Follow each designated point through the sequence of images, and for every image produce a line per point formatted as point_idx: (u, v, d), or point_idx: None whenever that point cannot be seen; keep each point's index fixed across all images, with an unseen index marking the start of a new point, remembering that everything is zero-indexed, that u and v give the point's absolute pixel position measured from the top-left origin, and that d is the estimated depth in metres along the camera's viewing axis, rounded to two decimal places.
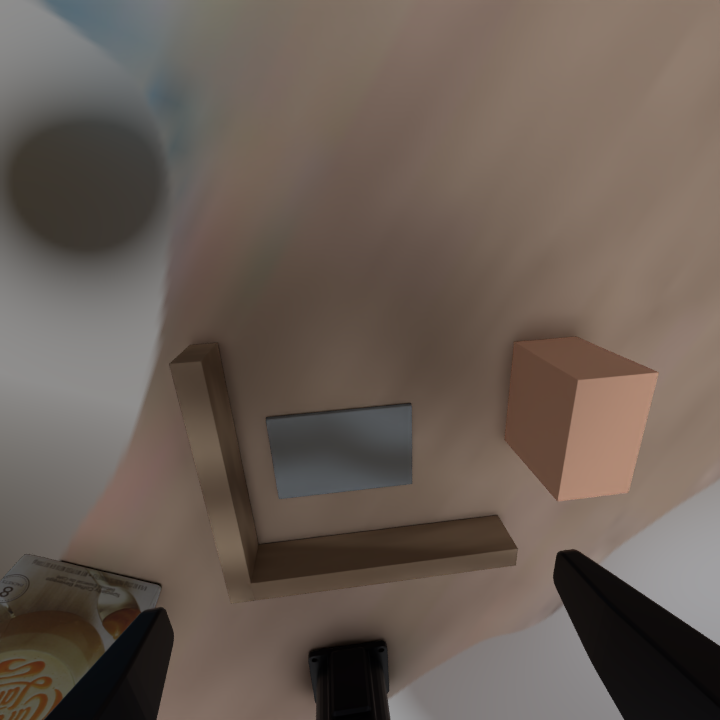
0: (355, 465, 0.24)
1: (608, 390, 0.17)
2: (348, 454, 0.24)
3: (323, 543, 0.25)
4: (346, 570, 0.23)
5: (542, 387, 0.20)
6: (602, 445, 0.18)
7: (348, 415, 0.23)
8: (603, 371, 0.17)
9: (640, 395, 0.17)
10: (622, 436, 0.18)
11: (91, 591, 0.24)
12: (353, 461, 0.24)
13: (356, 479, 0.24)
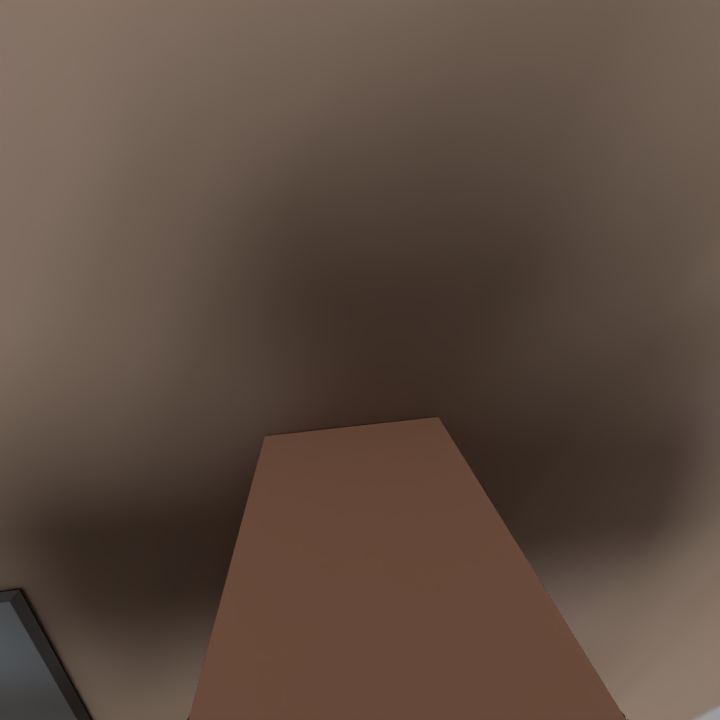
0: None
1: None
2: None
3: None
4: None
5: None
6: None
7: None
8: None
9: None
10: None
11: None
12: None
13: None
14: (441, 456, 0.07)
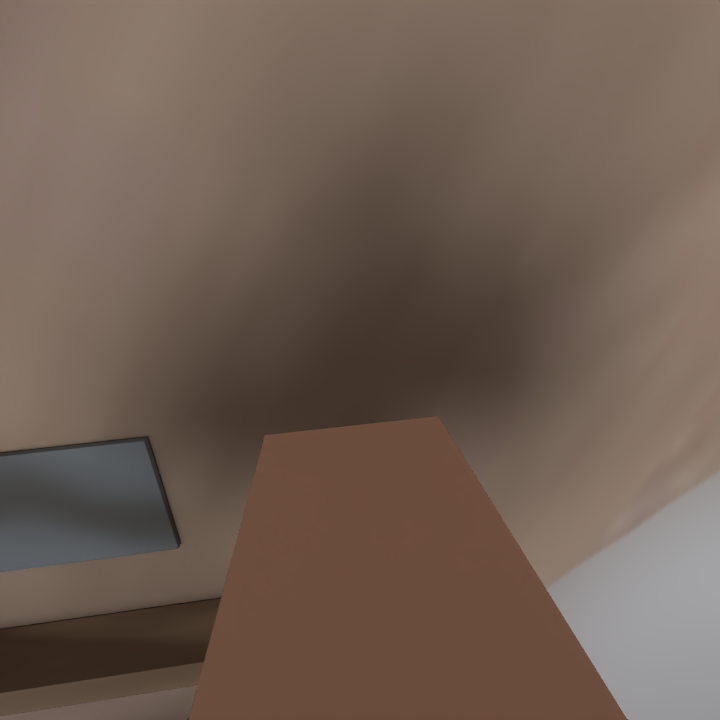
0: (82, 526, 0.16)
1: None
2: (65, 511, 0.16)
3: (62, 631, 0.18)
4: (63, 682, 0.16)
5: None
6: None
7: (46, 457, 0.15)
8: None
9: None
10: None
11: None
12: (76, 521, 0.16)
13: (89, 545, 0.17)
14: (441, 455, 0.07)
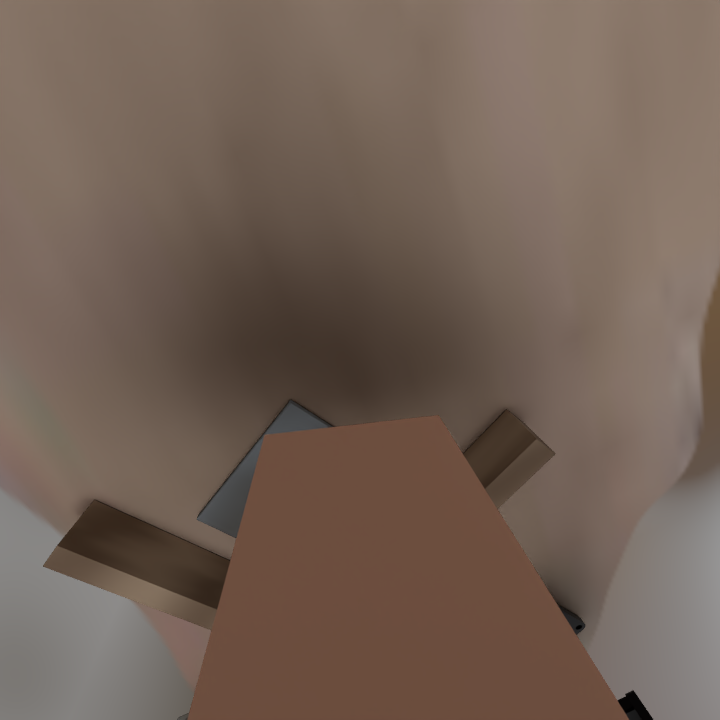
0: None
1: None
2: None
3: None
4: None
5: None
6: None
7: (250, 459, 0.19)
8: None
9: None
10: None
11: None
12: None
13: None
14: (441, 454, 0.07)
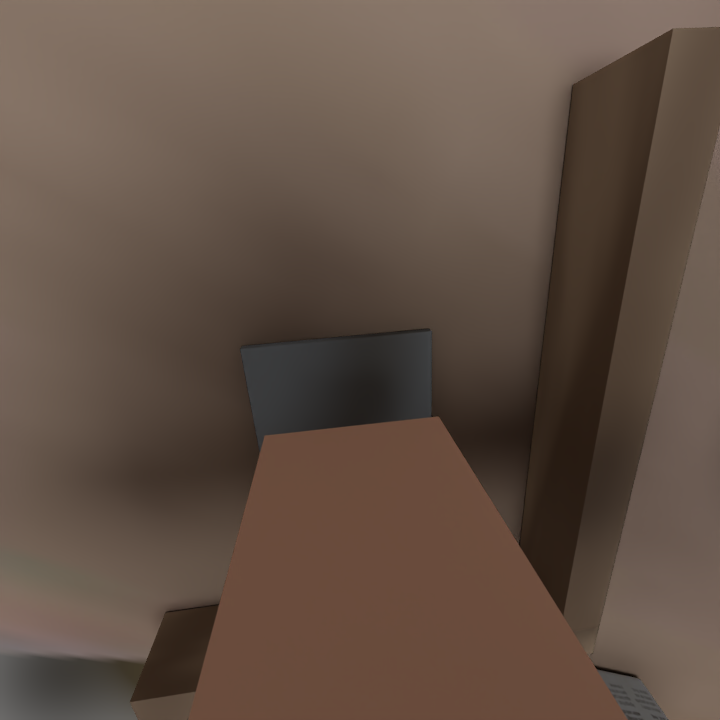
0: None
1: None
2: None
3: (536, 486, 0.14)
4: (584, 496, 0.11)
5: None
6: None
7: None
8: None
9: None
10: None
11: None
12: None
13: None
14: (441, 455, 0.07)
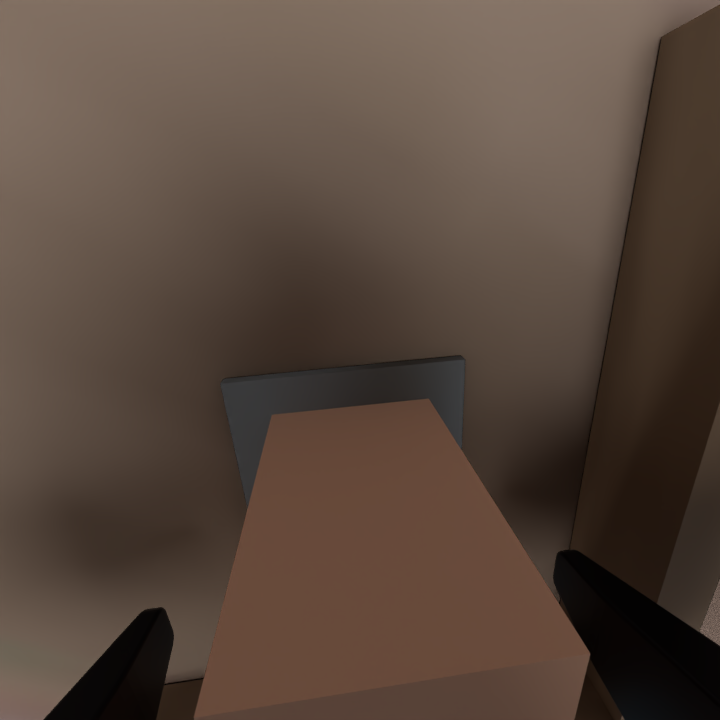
0: None
1: None
2: None
3: (586, 542, 0.11)
4: (663, 574, 0.09)
5: None
6: None
7: None
8: (365, 624, 0.04)
9: None
10: None
11: None
12: None
13: None
14: (429, 430, 0.08)
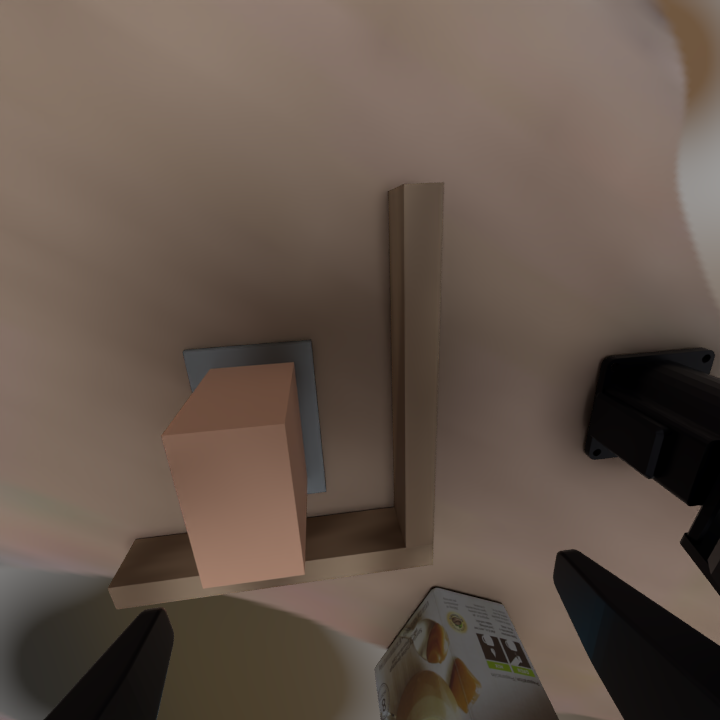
0: None
1: (215, 449, 0.12)
2: None
3: (395, 448, 0.20)
4: (406, 449, 0.17)
5: None
6: (239, 518, 0.13)
7: None
8: (219, 421, 0.13)
9: (269, 454, 0.13)
10: (264, 506, 0.13)
11: (409, 648, 0.24)
12: None
13: (300, 412, 0.19)
14: (283, 374, 0.16)
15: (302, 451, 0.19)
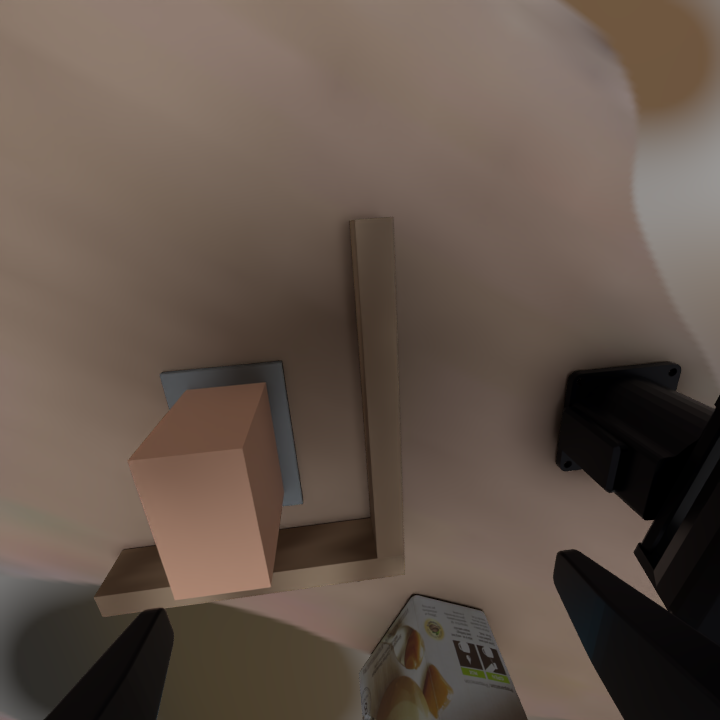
0: None
1: (179, 472, 0.13)
2: None
3: (367, 462, 0.21)
4: (372, 465, 0.18)
5: None
6: (204, 535, 0.14)
7: None
8: (183, 445, 0.14)
9: (229, 476, 0.14)
10: (228, 524, 0.14)
11: (390, 653, 0.25)
12: None
13: (274, 429, 0.20)
14: (252, 395, 0.17)
15: (276, 466, 0.19)
